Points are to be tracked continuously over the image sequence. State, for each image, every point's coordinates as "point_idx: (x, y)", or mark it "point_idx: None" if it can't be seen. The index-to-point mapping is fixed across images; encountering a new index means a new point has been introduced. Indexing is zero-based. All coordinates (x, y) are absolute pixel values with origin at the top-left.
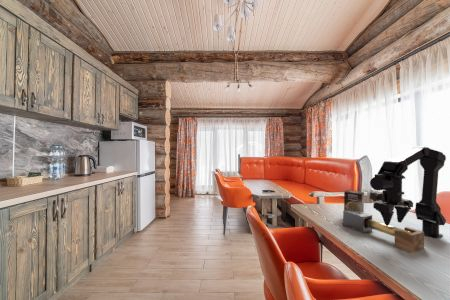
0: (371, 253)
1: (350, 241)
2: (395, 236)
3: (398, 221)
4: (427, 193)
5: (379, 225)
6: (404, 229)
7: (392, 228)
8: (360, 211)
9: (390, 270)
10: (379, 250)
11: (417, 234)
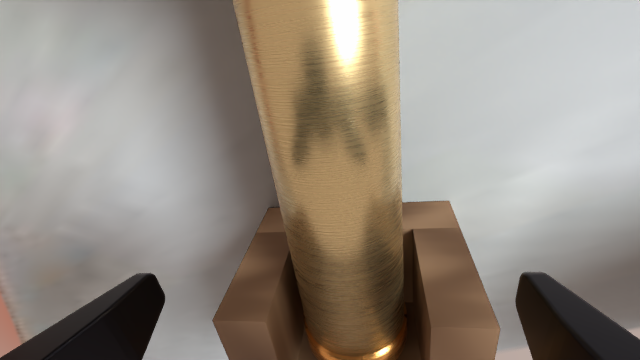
0: (35, 215)
1: None
2: (240, 272)
3: (522, 289)
4: None
5: (251, 69)
6: (425, 303)
7: (297, 245)
8: None
9: (44, 320)
10: (110, 208)
11: None
